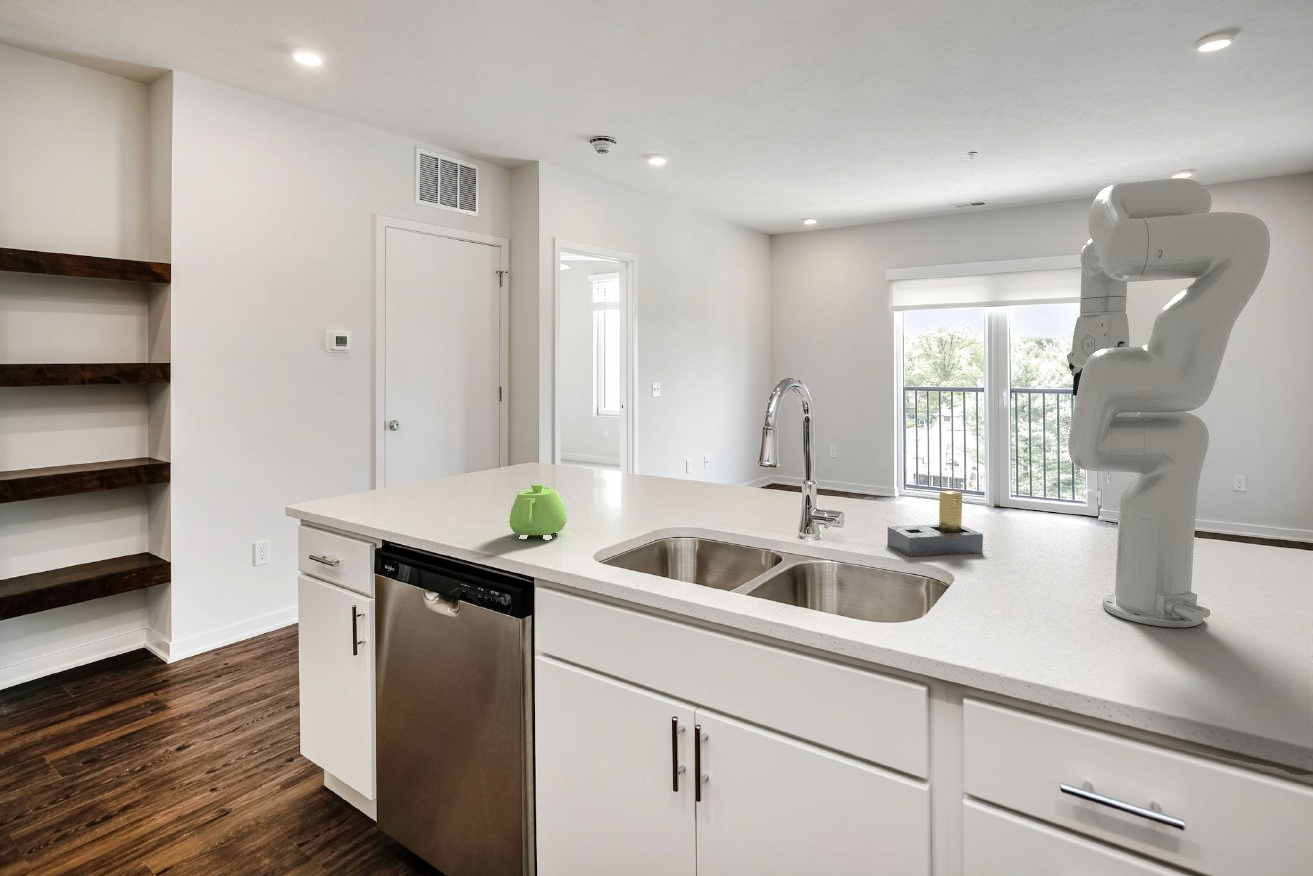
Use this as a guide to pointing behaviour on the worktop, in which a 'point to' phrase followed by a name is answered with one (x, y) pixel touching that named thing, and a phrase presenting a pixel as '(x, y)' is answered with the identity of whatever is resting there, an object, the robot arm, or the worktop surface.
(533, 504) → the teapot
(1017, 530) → the worktop surface
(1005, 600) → the worktop surface
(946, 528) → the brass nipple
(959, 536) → the block
